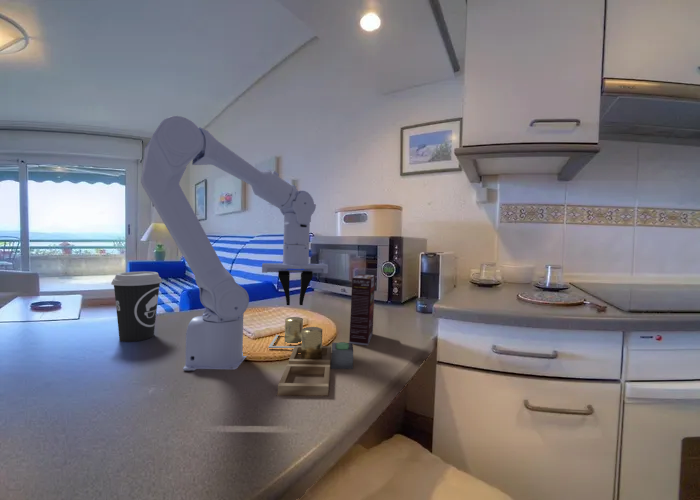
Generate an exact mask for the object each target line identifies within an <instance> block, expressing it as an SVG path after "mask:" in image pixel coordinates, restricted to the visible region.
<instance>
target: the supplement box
mask: <svg viewBox="0 0 700 500" xmlns="http://www.w3.org/2000/svg"><path fill="white" fill-rule="evenodd" d="M375 285H376V275H374V274H366V273H365V274H362V273H358V274H356V276H354V277H352V279H351V297H350V298H351V300H350V320H349V322H350V323H349V337H348V338H349V340H348V343H352V344H354V345H362V346H369V344H370V341H371V339H372V337H373V333H374V311H375V310H374V309H375V287H376V286H375Z"/></svg>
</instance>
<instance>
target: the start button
mask: <svg viewBox="0 0 700 500" xmlns="http://www.w3.org/2000/svg"><path fill="white" fill-rule="evenodd" d="M336 343H337V344H336V349H349V344H348V343H349V342H344V341H343V342H342V341H341V342H336Z"/></svg>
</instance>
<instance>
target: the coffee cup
mask: <svg viewBox="0 0 700 500" xmlns="http://www.w3.org/2000/svg"><path fill="white" fill-rule="evenodd" d="M161 283H163V280H162V277H160V275H159V273H158V272H156V271H127V272H119V273H118V272H117V273H116V274H115V277H114V278H113V279H112V281H111V285H112V286H113V291H114V299H115V306H116V309H115V310H116V318H117V327H118V328H117V330H118V336H119V337H118V338H119V341H120V342H123V343H133V342H140V341H145V340H148V339H151V338H153V337H154V336H155V330H156V329H155V327H156V318H157V311H158V310H157V309H158V303H159V301H158V300H159V292H160V287H161V286H160V285H161Z"/></svg>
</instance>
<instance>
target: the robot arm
mask: <svg viewBox="0 0 700 500" xmlns="http://www.w3.org/2000/svg"><path fill="white" fill-rule="evenodd" d="M150 137H151V138H150V139H149V141H148V142H147V144H146V145H145V147H144V155H143V164H142V169H141V176H140V183H141V185H142V188H143V190H144V191H145V193H146V195H147V197H148V198H149V200H150V202H151V203H152V205H153V206H154V209H155V210H156V212H157V214H158V215H159V217H160V219H161V221H162V222H163V224H164V226H165V228H166V229H167V231H168V233H169V234H170V236H171V238H172V239H173V241H174V243H175V245H176V246H177V248H178V250H179V251H180V253H181V255H182V257H183V258H184V260H185V262H186V264H187V265H188V267H189V268H190V270H191V272H192V273H193V275H194V279H195V284H196V285H197V288H198V289H199V299H200V303H201V304H202V306H203V307H204V308H205V309H204V311H203V313H202V315H197V316H196V315H195V316H194V317H192V319H190V321H189V323H188V325H187V328H186V333H185V365H184V366H183V368H182V370H183V371H196V370H197V369H198V370H237V369H238V368H239V367H240V366H241V364H242V363H243V362H244V360H245V359H246V358H247V357H248V355H247V356H243V352H244V350H243V346H244V345H243V344H244V343H243V340H244V313H245V312H246V310H247V309H248V308H249V304H250V297H249V293H248V292H247V290H246V289H245V288H244V287H242V286H241V285H239V284H238V282H236V280H235V278H234V276H233V275H232V274H231V273H230V272H229V271H228V270H227V269H226V267H225V266H224V265H223V262H221V260H220V258H219V256H218V254H217V252H216V250H215V248H214V247H213V244H212V243H211V241H210V239H209V237H208V235H207V233H206V232H205V230H204V228H203V226H202V225H201V223H200V220H199V219H198V217H197V215H196V213H195V211H194V210H193V208H192V206H191V204H190V202H189V201H188V199H187V197H186V194H185V192H184V191H183V189H182V187H181V186H180V182H181V179H182V178H183V175H184V173H185V171H186V169H187V166H188V165H189V164H190V163H191V161H192V163H191V165H192V166H208V165H209V166H210V165H212V166H214V167H216V168H218V169H220V170H222V171H224V172H226V173H227V174H229V175H231V176H233V177H235V178H237V179H239V180H241V181H242V182H244V183H246V184H248V185H250V186H251V188H252V191H253V192H252V193H253V194H254V195H255V196H257V197H259V198H260V199H262V200H264V201H266V202H268V203H269V204H271V205H273V206H274V207H276V208H277V209H279V211H280V213H281V215H283V217H284V218H283V246H282V247H283V248H282V249H283V250H282V253H283V254H282V262H278V263H277V262H276V263H275V262H274V263H273V262H270V263H268V262H265V263H264V262H262V265H261V273H262V274H263V273H264V274H265V273H266V274H267V273H278V274H277V276H278V279H279V281H280V284H281V286H282V288H283V292H284V295H285V301H286V306H290V305H291V296H290V295H291V292H290V277H291V276H290V275H291V273H299V274H300V291H299V306H304V299H305V295H306V293H307V289H308V286H310V283H311V280H313V279H312V278H313V276H314V275H313V274H314V273H315V274H328V273H329V265H328V264H324V263H309V261H310V259H309V258H310V257H309V255H310V254H309V253H310V252H309V251H310V227H311V225H310V223H312V215H313V214H314V213H315V210H316V208H317V207H316V206H317V205H316V204H315V201H314V199H313V197H312V195H311V194H310V193H309V192H308V191H306V190H298V189H297V186H296V185H295V184H291V183H288V182H287V181H286V180H284V179H282V177H280V173H279V172H277V171H275V170H272V171H270V170H262V171H260V170H259V169H257V167H255V166H254V165H252V164H251V163H250V162H248V161H247V160H245V159H244V158H242V157H241V156H239V155H238V154H237V153H235V152H234V151H233V150H231V149H230V148H228V147H227V146H226V145H224V144H223V143H222V142H220V141H219V140H218V139H216V138H215V136H214V135H212V134H211V133H210V132H209V131H208V130H206V129H205V128H202V127H198V126H197V124H196V123H194V122H193V121H192V120H191V119H188V118H186V117H183V116H178V115H172V116H167V117H166V118H164V119H163V120H162V121H161V122H160V124H159V125H158V127H157V128H156V130H154V133H153V134H152V135H151V136H150Z"/></svg>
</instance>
